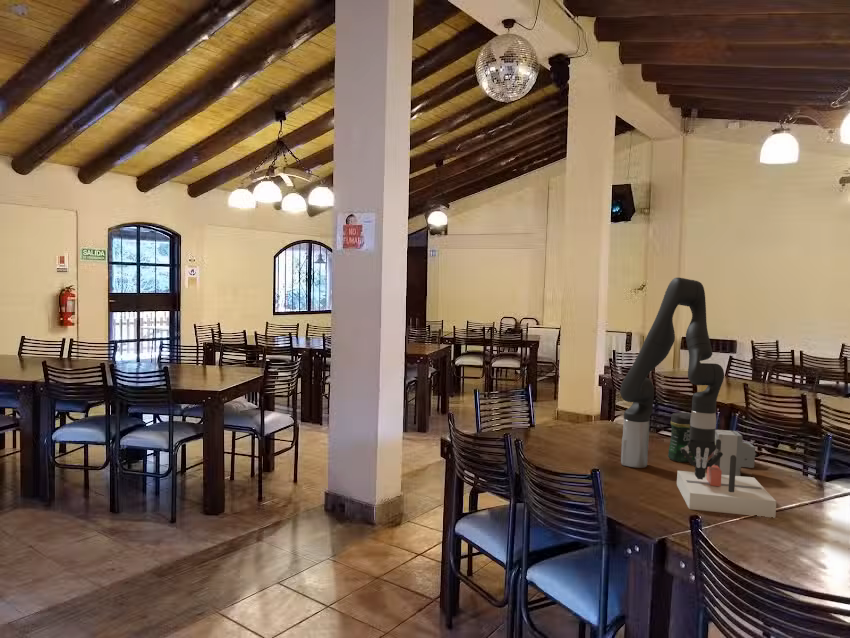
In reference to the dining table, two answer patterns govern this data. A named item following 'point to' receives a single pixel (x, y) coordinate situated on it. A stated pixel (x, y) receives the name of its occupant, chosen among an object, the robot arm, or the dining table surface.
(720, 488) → the board
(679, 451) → the coffee jar
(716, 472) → the block
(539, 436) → the dining table surface
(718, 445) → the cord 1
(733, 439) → the circuit breaker
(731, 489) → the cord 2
